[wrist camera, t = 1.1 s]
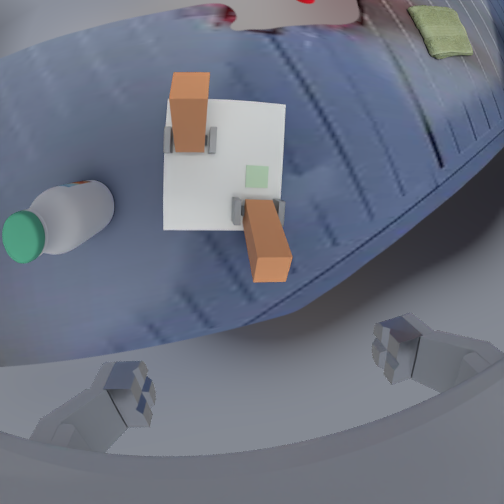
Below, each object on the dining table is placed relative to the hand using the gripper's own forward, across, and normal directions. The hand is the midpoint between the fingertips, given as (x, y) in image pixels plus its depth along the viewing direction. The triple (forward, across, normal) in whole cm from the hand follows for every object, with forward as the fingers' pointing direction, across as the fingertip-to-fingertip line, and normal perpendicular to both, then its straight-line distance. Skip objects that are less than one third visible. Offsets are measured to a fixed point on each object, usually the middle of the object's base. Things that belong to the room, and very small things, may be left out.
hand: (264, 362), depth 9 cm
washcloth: (+36, -48, -36) cm, 70 cm away
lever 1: (+30, +4, -11) cm, 32 cm away
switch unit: (+34, 0, -7) cm, 34 cm away
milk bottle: (+33, +20, -5) cm, 39 cm away
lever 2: (+30, -4, 0) cm, 31 cm away
